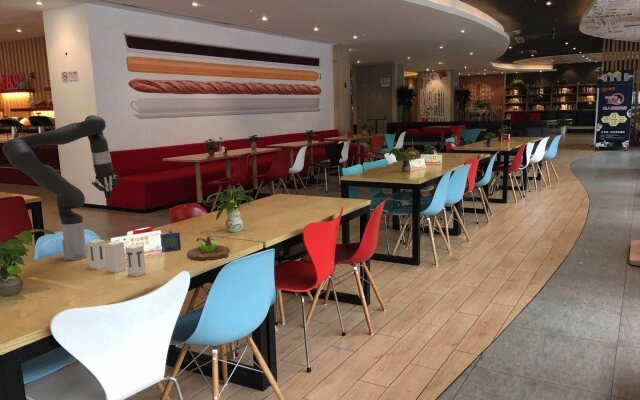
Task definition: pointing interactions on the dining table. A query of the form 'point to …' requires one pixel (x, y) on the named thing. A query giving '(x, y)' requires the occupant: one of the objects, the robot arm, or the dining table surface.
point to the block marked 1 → (97, 254)
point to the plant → (208, 251)
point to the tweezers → (206, 239)
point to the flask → (170, 241)
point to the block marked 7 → (135, 260)
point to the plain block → (116, 256)
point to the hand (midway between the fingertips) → (109, 198)
